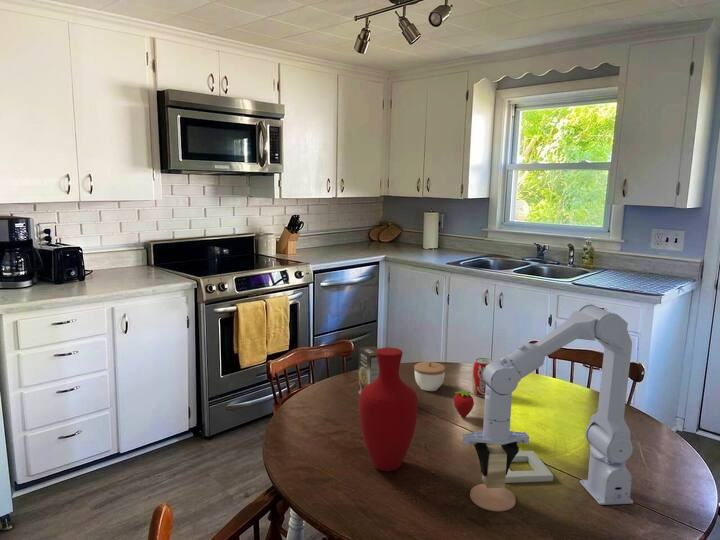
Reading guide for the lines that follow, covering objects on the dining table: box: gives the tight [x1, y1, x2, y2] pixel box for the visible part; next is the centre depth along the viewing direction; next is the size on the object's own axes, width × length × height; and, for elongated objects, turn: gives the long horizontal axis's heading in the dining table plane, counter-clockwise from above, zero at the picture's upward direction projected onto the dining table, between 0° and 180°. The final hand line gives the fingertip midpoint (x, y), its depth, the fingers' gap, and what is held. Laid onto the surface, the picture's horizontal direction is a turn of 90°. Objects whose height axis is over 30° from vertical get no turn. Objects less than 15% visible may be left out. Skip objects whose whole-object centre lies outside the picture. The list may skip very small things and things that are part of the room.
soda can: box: [472, 357, 494, 398], centre depth 181 cm, size 7×7×12 cm
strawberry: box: [452, 389, 475, 419], centre depth 162 cm, size 6×8×10 cm
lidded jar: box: [413, 361, 446, 392], centre depth 186 cm, size 11×11×9 cm
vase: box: [357, 346, 419, 472], centre depth 133 cm, size 15×15×30 cm
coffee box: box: [357, 345, 379, 395], centre depth 177 cm, size 9×6×16 cm
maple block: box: [481, 445, 507, 488], centre depth 120 cm, size 4×4×8 cm
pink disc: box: [469, 483, 517, 512], centre depth 121 cm, size 10×10×1 cm
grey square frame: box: [505, 450, 554, 484], centre depth 134 cm, size 12×12×2 cm
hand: (493, 473), depth 120 cm, fingers closed on maple block, 4 cm apart
